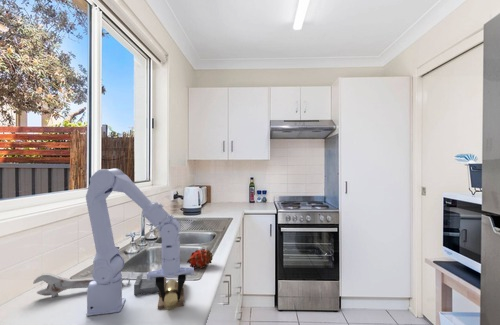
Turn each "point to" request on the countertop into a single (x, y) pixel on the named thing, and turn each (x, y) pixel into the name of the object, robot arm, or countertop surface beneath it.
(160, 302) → the brown wooden cradle
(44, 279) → the wrench
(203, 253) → the dragon fruit
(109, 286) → the robot arm
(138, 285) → the v block
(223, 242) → the countertop surface
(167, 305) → the brass axle
